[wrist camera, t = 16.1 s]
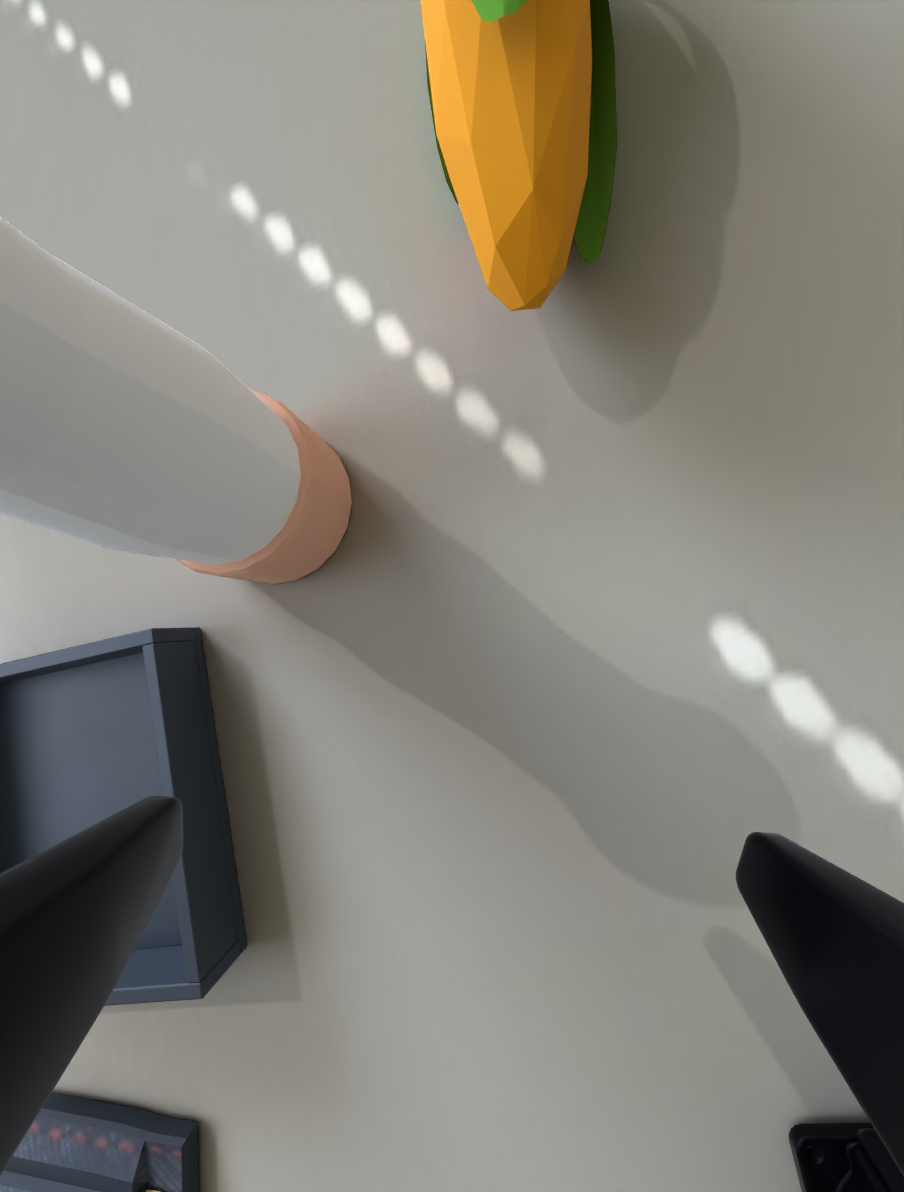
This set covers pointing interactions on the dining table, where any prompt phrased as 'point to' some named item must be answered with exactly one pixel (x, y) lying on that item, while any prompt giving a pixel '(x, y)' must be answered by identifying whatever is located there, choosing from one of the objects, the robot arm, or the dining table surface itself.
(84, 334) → the pepper shaker
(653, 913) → the dining table surface
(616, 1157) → the dining table surface
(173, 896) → the tray
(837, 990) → the robot arm
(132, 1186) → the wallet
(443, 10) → the corn
